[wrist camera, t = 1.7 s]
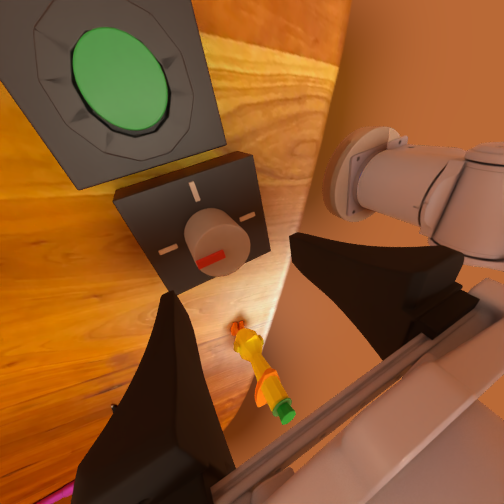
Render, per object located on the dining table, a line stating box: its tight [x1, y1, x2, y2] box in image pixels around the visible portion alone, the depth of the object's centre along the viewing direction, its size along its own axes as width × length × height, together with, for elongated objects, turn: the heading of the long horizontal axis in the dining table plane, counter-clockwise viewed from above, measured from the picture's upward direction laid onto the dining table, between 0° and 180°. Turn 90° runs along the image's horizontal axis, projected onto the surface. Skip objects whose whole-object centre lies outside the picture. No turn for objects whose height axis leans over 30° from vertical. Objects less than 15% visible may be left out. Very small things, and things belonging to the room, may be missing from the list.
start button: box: [73, 27, 168, 131], centre depth 10 cm, size 4×4×2 cm
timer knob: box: [184, 208, 250, 277], centre depth 16 cm, size 4×4×4 cm
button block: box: [0, 0, 227, 190], centre depth 12 cm, size 10×8×4 cm
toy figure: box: [231, 321, 296, 425], centre depth 24 cm, size 7×4×12 cm, turn 170°
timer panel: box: [113, 151, 271, 295], centre depth 18 cm, size 10×9×3 cm
